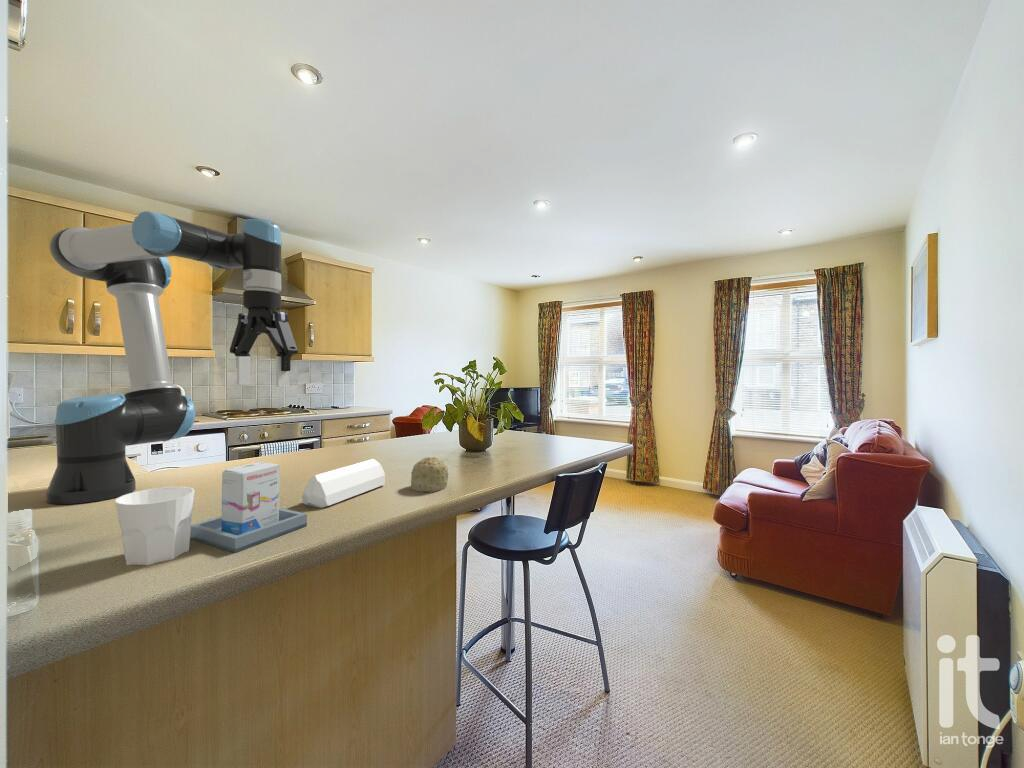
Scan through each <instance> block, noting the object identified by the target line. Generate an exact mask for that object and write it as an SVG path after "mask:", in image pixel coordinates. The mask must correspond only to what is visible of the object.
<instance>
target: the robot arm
mask: <svg viewBox="0 0 1024 768" xmlns="http://www.w3.org/2000/svg"><path fill="white" fill-rule="evenodd" d="M49 251H50V254H51V256H52V258H53V260H54V261H55V262H56V263H57V264H58V265H59V266H60V267H61V268H62V269H64V270H65V271H67V272H69V273H70V274H72V275H74V276H77V277H81V278H83V279H88V280H94V281H100V282H104V283H105V285H106V291H107V293H108V294H109V295H111V296H113V297H114V298H115V299H116V304H117V312H118V317H119V323H120V328H121V329H120V330H121V334H122V335H121V336H122V343H123V347H124V353H125V358H126V359H125V360H126V365H127V372H128V377H129V385H130V386H129V388H128V389H127V390H126V391H125V392H124V394H122V393H105V394H94V395H86V396H78V397H73V398H68V399H66V400H62V401H61V402H60V403H58V405H57V407H56V415H55V420H54V424H55V430H56V431H55V432H56V433H55V434H56V435H55V436H56V458H57V459H56V463H57V464H56V468H55V471H54V473H53V475H52V477H51V480H50V483H49V485H48V487H47V489H46V502H47V503H49V504H53V505H71V504H75V505H76V504H82V503H83V504H84V503H91V502H98V501H99V502H101V501H105V500H110V499H115V498H119V497H121V496H123V495H126V494H129V493H133V492H135V491H136V489H137V487H136V482H137V481H136V479H135V477H134V474H133V472H132V470H131V467H130V465H129V464H128V461H127V458H126V446H127V447H128V446H134V445H135V446H137V445H142V444H149V443H158V442H167V441H171V440H176V439H177V440H178V439H181V438H183V437H185V436H186V435H187V434H188V433H189V432H190V431H191V429H192V427H193V425H194V423H195V419H196V408H195V407H196V406H195V404H194V402H193V400H192V399H191V398H190V397H189V396H186V395H182V391H181V390H182V389H181V387H180V386H178V385H176V384H175V383H174V382H173V378H172V373H171V366H170V361H169V356H168V355H169V354H168V349H167V344H166V343H167V342H166V337H165V332H164V331H165V330H164V326H163V320H162V313H161V309H160V308H161V307H160V302H159V300H160V299H159V297H160V296H162V294H164V292H165V289H166V288H167V287H168V286H169V285H170V282H171V278H170V277H172V266H171V264H170V261H169V258H170V257H178V258H179V257H180V258H183V259H189V260H192V261H197V262H201V263H206V264H207V265H209V266H211V267H212V268H214V269H216V270H227V271H230V270H235V269H242V271H243V274H242V277H243V279H242V280H243V285H242V286H243V289H245V290H244V291H243V292H242V304H243V305H242V306H243V307H244V308H245V309H247V310H248V313H238V314H237V315H238V316H237V325H236V328H235V331H234V334H233V338H232V341H231V344H230V347H229V353H230V354H234V356H235V357H236V384H237V385H251V354H250V351H251V349H252V347H253V345H255V342H256V340H258V339H257V338H258V337H259V336H260V335H262V334H267V336H268V338H269V340H270V342H271V343H272V345H273V347H274V348H275V351H277V354H276V357H275V367H276V369H275V378H276V379H275V380H276V382H275V384H276V385H275V387H280V388H281V387H290V371H291V357H293V355H298V353H299V350H298V347H297V344H296V341H295V340H296V339H295V337H294V336H293V332H292V328H291V326H290V323H289V314H288V313H287V312H285V311H280V310H281V309H282V295H281V294H280V292H281V291H282V236H281V228H280V227H279V226H278V225H277V224H276V223H274V222H271V221H268V220H265V219H264V220H263V219H258V218H250V219H249V218H248V219H245V220H244V221H243V223H242V229H241V232H240V233H226V232H222V231H219V230H216V229H213V228H210V227H205V226H201V225H198V224H196V223H192V222H189V221H186V220H182V219H179V218H176V217H172V216H170V215H167V214H165V213H158V212H153V211H148V210H145V211H141V212H139V214H138V215H137V216H135V218H134V220H133V222H131V223H130V222H129V223H126V224H125V223H124V224H117V225H113V226H112V225H111V226H105V227H100V228H93V229H91V228H88V227H84V226H75V227H68V228H64V229H61V230H59V231H57V232H55V234H54V235H53V236H52V238H51V239H50V242H49ZM168 257H169V258H168Z"/></svg>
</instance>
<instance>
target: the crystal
mask: <svg viewBox="0 0 1024 768" xmlns="http://www.w3.org/2000/svg"><path fill="white" fill-rule="evenodd" d="M385 485H386V473H385V471H384V469H383V466H382V464H381V463H379V461H377V460H376V459H375V458H371V459H368V460H364V461H361V462H357V463H354V464H350V465H346V466H342V467H338V468H336V469H335V468H334V469H332V470H329V471H325V472H321V473H318V474H315V475H313V476H312V477H311V478H310V479H309V480H308V482H307V483H306V486H305V488H304V490H303V492H302V495H301V499H302V503H303V504H304V505H305V506H309V507H315V508H321V509H322V508H326V507H328V506H331V505H335V504H337V503H340V502H342V501H345V500H347V499H350V498H352V497H355V496H358V495H361V494H363V493H366V492H369V491H371V490H374V489H376V488H379V487H381V486H385Z"/></svg>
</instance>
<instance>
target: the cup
mask: <svg viewBox="0 0 1024 768" xmlns="http://www.w3.org/2000/svg"><path fill="white" fill-rule="evenodd" d="M194 498H195V489H194V488H192V487H189V486H163V487H154V488H148V489H143V490H138V491H133V492H131V493H128V494H126V495H122V496H119V497H116V499H114V500H115V502H114V503H115V507H116V512H117V518H118V519H117V520H118V523H119V524H118V525H119V527H120V530H121V538H122V545H123V546H122V547H123V555H124V560H125V563H126V566H132V565H145V566H151V565H154V564H156V563H161V562H164V561H165V562H166V561H171V560H175V559H176V558H177V557H178V556H180V555H182V554H185V553H186V552H189V551H190V542H191V539H190V529H191V525H192V517H193V509H194V508H193V507H194V500H195V499H194Z"/></svg>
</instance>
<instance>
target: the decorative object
mask: <svg viewBox="0 0 1024 768" xmlns="http://www.w3.org/2000/svg"><path fill="white" fill-rule="evenodd" d="M448 470H449V469H448V465H447V464H446V463H445V462H444V461H443V460H442V459H440V458H439V457H436V456H426V457H423V458H422V459H421V460H419V461H417V462H416V463H415V464H414V465H413V467H412V470H411V474H410V475H411V476H410V477H411V478H410V479H411V480H410V485H411V489H412V490H414V491H417V492H423V493H424V492H425V493H427V492H428V493H434V492H439V491H442V490H444V489H446V487H447V485H448V480H449V479H448V478H449V472H448Z"/></svg>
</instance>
